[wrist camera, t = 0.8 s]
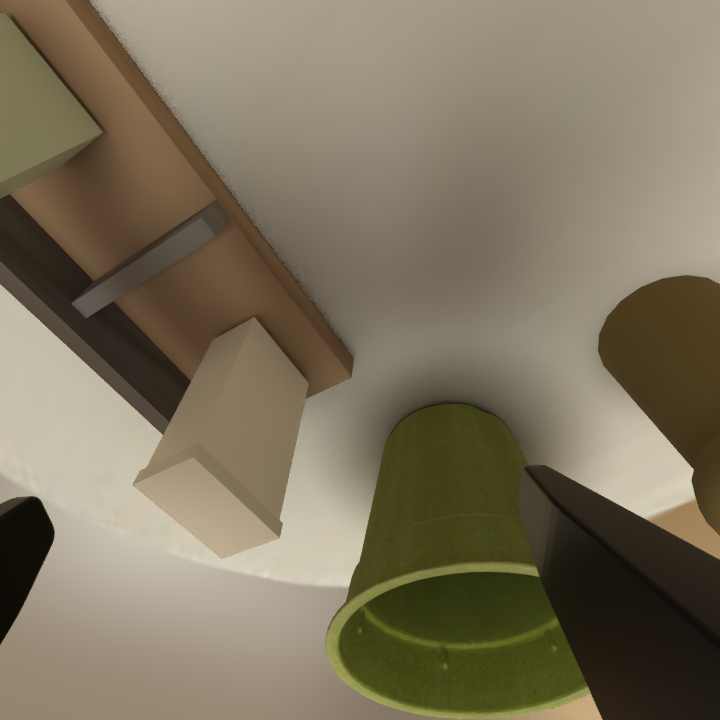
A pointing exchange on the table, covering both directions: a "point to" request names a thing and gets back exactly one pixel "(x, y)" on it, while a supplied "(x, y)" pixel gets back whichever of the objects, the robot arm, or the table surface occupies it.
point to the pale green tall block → (35, 114)
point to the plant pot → (451, 581)
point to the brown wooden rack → (143, 235)
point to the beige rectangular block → (230, 443)
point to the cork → (674, 371)
